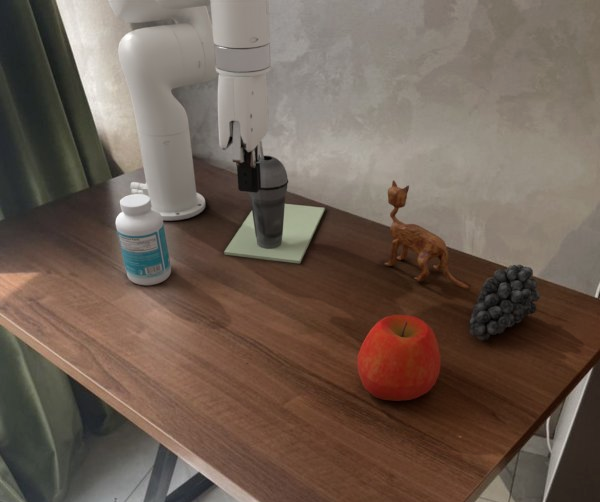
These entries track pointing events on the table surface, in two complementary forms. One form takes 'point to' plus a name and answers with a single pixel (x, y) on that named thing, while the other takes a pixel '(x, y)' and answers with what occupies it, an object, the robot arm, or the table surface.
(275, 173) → the beverage cup
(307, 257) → the table surface
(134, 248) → the pill bottle
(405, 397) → the apple
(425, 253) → the cat figurine
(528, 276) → the fruit
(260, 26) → the robot arm
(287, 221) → the mat
